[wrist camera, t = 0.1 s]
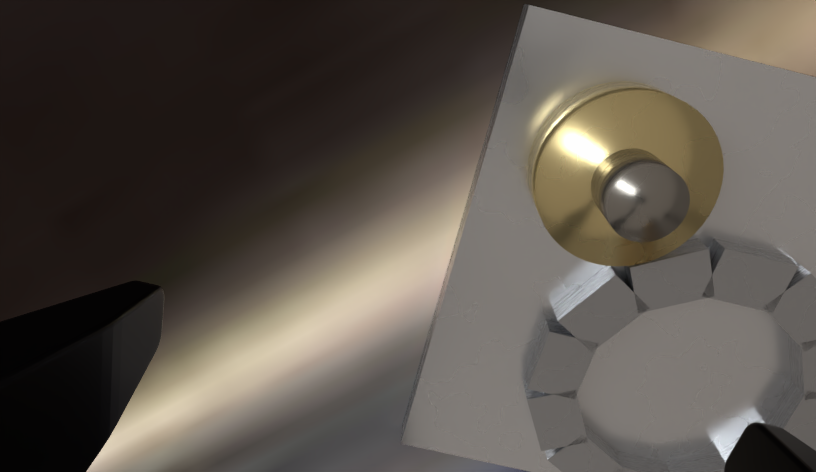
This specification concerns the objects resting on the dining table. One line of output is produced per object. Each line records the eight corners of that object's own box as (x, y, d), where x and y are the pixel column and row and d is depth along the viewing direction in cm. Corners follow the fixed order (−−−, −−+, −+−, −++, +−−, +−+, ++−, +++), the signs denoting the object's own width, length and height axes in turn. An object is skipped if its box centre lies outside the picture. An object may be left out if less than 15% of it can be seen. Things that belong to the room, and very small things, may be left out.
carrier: (743, 499, 28) (804, 603, 24) (402, 425, 28) (394, 517, 23) (984, 119, 21) (1144, 160, 16) (524, 4, 20) (550, 10, 15)
